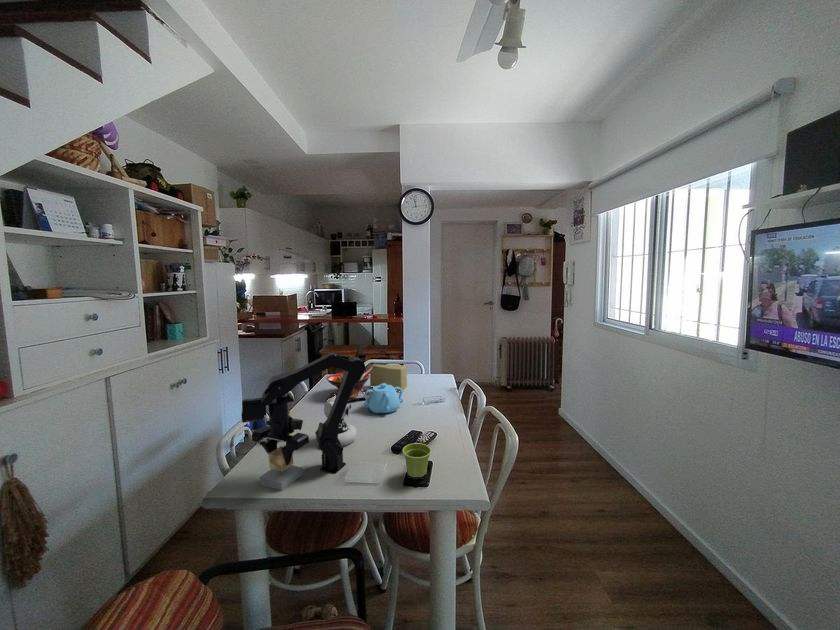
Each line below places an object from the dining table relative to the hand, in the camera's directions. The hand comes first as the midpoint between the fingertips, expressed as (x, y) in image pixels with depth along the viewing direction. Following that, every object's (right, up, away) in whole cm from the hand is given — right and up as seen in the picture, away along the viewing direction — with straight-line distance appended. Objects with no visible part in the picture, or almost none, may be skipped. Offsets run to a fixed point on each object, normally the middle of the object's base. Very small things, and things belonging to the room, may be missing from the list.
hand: (281, 462), depth 105 cm
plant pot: (+44, -5, +2) cm, 44 cm away
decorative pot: (+27, 0, +59) cm, 64 cm away
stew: (+6, +1, +78) cm, 79 cm away
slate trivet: (0, -6, +1) cm, 6 cm away
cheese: (+25, +3, +91) cm, 94 cm away
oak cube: (0, -1, 0) cm, 1 cm away
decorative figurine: (+12, -3, +27) cm, 30 cm away
